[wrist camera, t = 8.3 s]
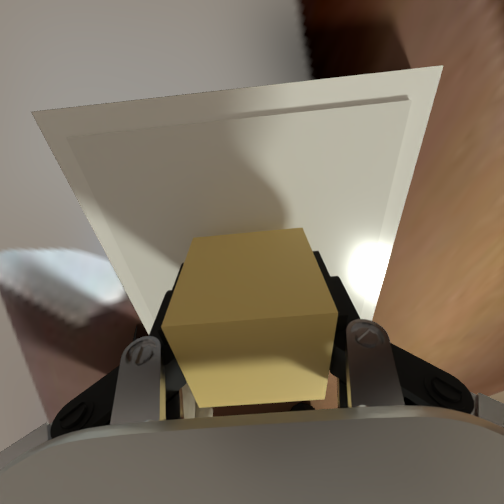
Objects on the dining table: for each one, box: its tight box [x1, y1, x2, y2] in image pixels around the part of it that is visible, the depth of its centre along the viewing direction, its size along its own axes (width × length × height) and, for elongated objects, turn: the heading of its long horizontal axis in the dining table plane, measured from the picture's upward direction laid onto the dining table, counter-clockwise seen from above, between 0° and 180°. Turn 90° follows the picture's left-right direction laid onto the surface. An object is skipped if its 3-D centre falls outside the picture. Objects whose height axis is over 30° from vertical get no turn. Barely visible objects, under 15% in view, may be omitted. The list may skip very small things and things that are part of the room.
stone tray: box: [32, 65, 443, 334], centre depth 14 cm, size 16×16×2 cm
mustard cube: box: [161, 228, 338, 408], centre depth 10 cm, size 5×5×5 cm
